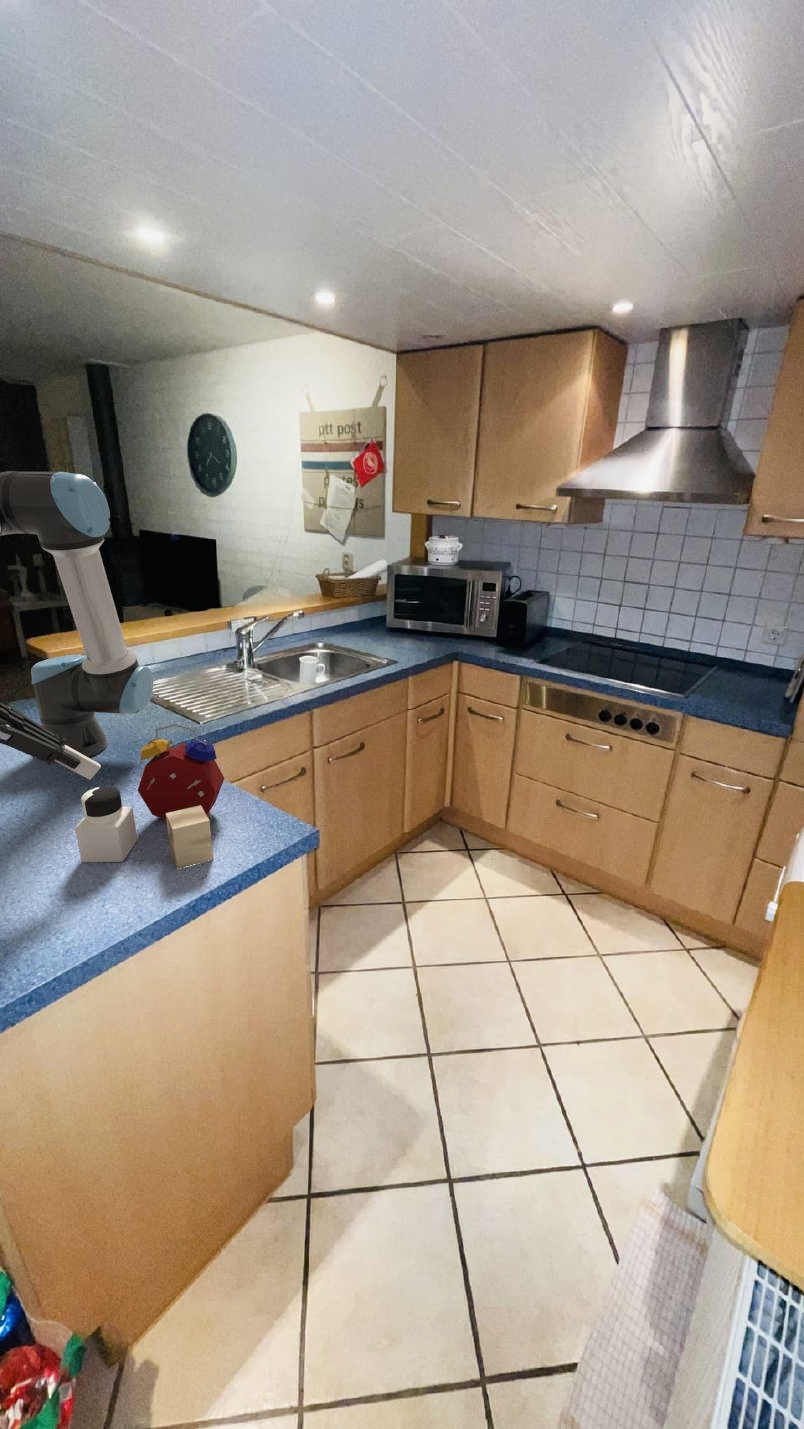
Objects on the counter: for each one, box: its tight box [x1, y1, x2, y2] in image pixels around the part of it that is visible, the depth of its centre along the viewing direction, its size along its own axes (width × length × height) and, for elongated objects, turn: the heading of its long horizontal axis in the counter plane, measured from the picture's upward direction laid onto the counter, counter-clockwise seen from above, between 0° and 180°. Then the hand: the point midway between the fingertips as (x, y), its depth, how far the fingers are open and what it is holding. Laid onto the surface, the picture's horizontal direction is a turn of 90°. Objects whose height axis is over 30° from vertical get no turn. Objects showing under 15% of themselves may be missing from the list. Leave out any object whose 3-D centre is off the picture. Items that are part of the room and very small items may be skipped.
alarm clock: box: [137, 723, 225, 821], centre depth 112 cm, size 15×9×20 cm, turn 90°
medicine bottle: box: [74, 786, 138, 863], centre depth 103 cm, size 7×7×12 cm
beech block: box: [166, 805, 214, 870], centre depth 103 cm, size 6×6×8 cm
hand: (95, 771), depth 99 cm, fingers closed
